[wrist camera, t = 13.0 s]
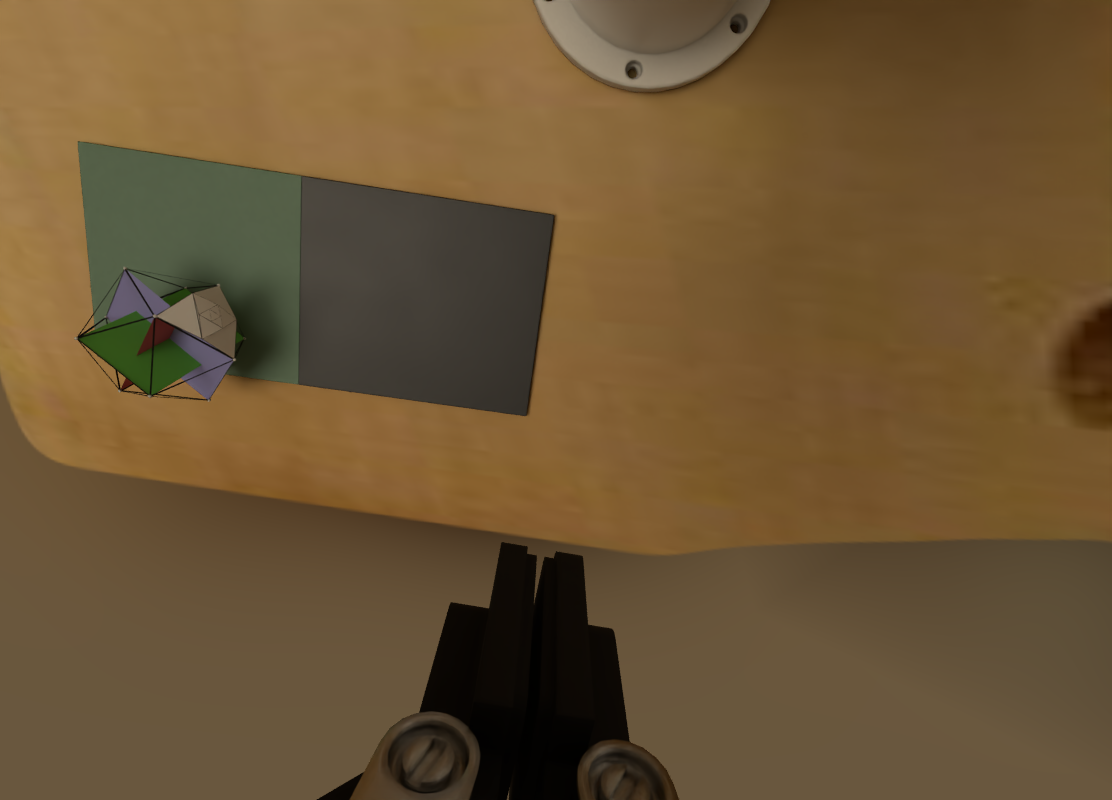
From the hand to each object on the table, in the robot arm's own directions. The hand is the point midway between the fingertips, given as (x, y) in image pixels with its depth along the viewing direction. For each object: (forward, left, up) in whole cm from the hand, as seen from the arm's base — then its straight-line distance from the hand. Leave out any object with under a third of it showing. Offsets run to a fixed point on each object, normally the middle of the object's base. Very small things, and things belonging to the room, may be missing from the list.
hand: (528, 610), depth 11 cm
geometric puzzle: (+1, -20, -24) cm, 31 cm away
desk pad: (-2, -14, -24) cm, 28 cm away
